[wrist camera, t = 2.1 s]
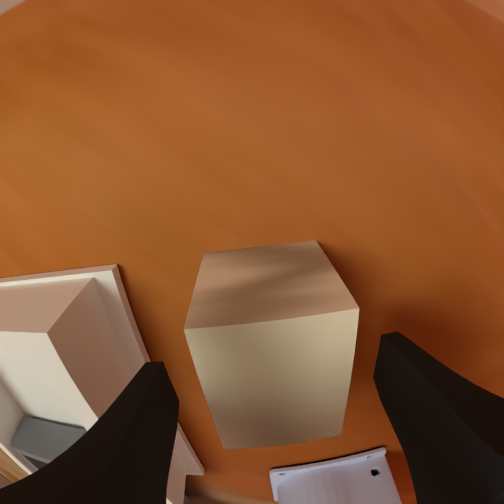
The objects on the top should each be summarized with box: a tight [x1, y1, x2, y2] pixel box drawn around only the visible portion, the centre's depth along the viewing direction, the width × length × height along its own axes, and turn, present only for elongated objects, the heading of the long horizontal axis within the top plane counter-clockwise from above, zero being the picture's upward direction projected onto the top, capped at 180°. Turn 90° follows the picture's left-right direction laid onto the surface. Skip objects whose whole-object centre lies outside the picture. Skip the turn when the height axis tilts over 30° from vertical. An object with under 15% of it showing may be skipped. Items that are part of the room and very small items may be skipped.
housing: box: [0, 264, 204, 504], centre depth 13 cm, size 18×16×5 cm
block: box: [184, 240, 359, 450], centre depth 11 cm, size 4×6×5 cm
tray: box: [9, 416, 193, 504], centre depth 15 cm, size 14×13×6 cm
